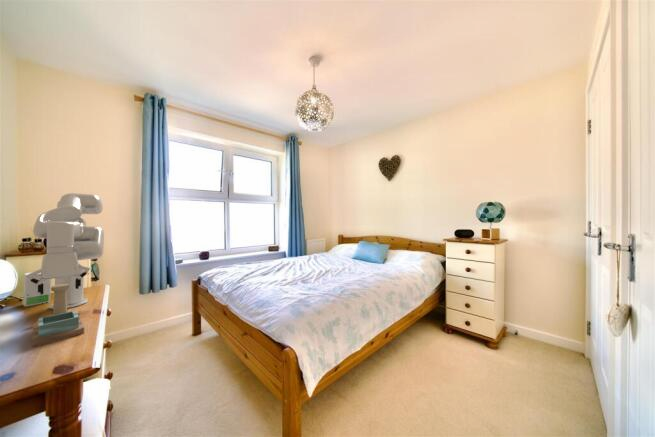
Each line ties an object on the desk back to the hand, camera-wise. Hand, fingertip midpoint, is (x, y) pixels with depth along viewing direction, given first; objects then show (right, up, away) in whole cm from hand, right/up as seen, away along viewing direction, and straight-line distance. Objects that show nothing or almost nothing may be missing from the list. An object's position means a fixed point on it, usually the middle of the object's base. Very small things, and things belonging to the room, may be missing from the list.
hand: (60, 290), depth 96 cm
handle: (-1, -13, +1) cm, 13 cm away
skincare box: (-34, -13, +19) cm, 41 cm away
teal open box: (+11, -13, -9) cm, 19 cm away
